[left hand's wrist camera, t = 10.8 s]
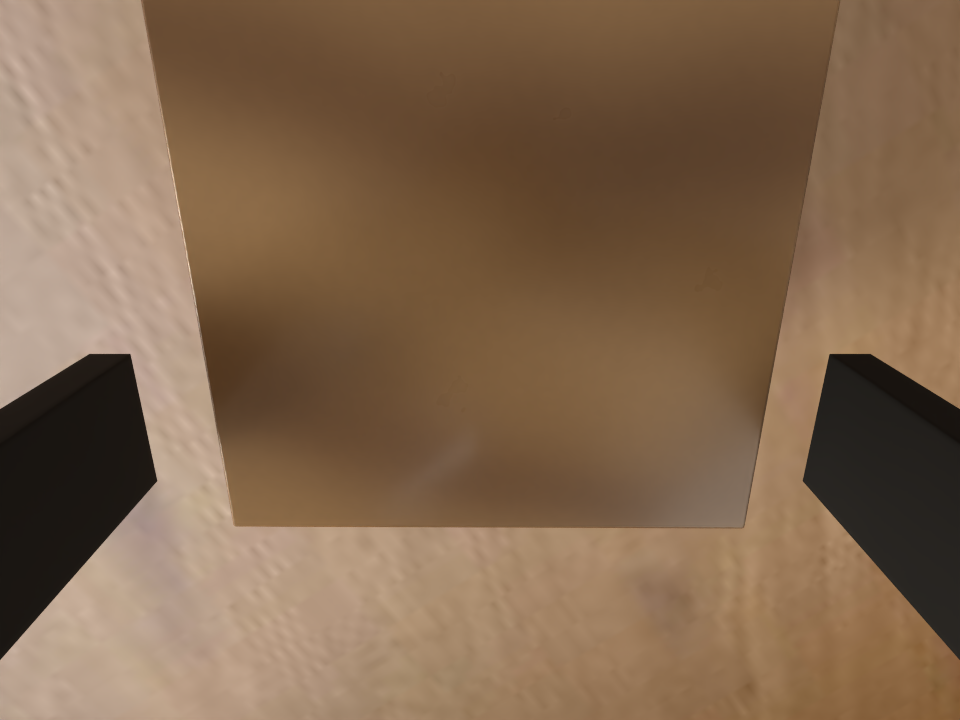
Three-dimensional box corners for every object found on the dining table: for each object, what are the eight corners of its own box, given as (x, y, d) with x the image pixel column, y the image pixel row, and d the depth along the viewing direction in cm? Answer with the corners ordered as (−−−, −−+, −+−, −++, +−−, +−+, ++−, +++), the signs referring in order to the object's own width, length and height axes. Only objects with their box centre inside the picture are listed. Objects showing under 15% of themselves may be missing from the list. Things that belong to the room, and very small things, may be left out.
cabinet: (291, -237, 18) (10, -725, 7) (686, -241, 18) (978, -743, 7) (342, 344, 24) (232, 527, 14) (632, 344, 24) (745, 529, 14)
